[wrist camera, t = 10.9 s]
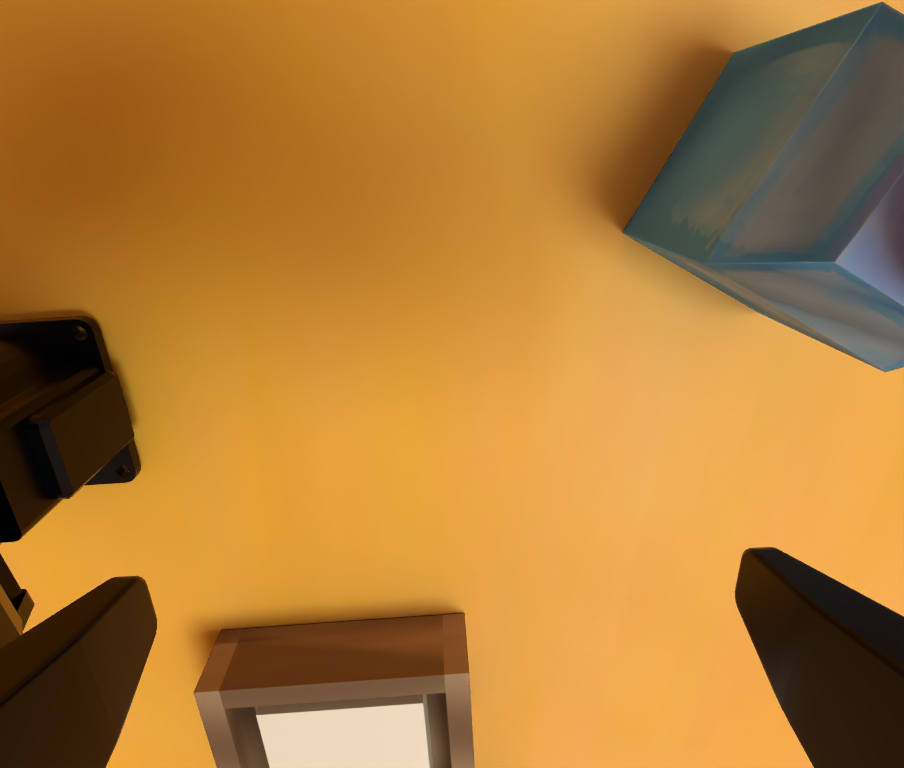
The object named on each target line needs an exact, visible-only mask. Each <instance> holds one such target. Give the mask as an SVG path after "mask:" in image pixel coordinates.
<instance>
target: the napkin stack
mask: <svg viewBox="0 0 904 768" xmlns="http://www.w3.org/2000/svg"><path fill="white" fill-rule="evenodd" d="M256 717H257V721H258V725H259V729H260V732H261V736H262V740H263V744H264V748H265V752H266V755H267V759H268V763H269V767H270V768H434V766H433V756H432V745H431V735H430V725H429V715H428V705H427V694H422V695H408V696H394V697H381V698H367V699H353V700H339V701H325V702H312V703H298V704H284V705H270V706H259V708H258V711H257V714H256Z"/></svg>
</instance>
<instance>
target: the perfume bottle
mask: <svg viewBox="0 0 904 768" xmlns="http://www.w3.org/2000/svg"><path fill="white" fill-rule="evenodd" d="M623 233H624V234H625V235H627V236H629V237H631V238H632V239H634V240H636V241H637V242H639V243H641V244H642V245H644V246H646V247H648V248H649V249H651V250H653V251H654V252H656V253H658V254H660V255H661V256H663V257H665V258H666V259H668V260H670V261H671V262H673V263H675V264H677V265H678V266H680V267H682V268H683V269H685V270H687V271H689V272H690V273H692V274H694V275H695V276H697V277H699V278H700V279H702V280H704V281H706V282H707V283H709V284H711V285H712V286H714V287H716V288H717V289H719V290H721V291H723V292H724V293H726V294H728V295H729V296H731V297H733V298H735V299H736V300H738V301H740V302H741V303H743V304H745V305H746V306H748V307H750V308H752V309H753V310H755V311H757V312H758V313H760V314H762V315H765V316H767V317H769V318H771V319H773V320H775V321H777V322H779V323H782V324H784V325H786V326H788V327H790V328H792V329H794V330H796V331H799V332H801V333H803V334H805V335H807V336H809V337H811V338H814V339H816V340H818V341H820V342H822V343H824V344H826V345H828V346H831V347H833V348H835V349H837V350H839V351H841V352H843V353H846V354H848V355H850V356H852V357H854V358H856V359H858V360H860V361H863V362H865V363H867V364H869V365H871V366H873V367H875V368H877V369H880V370H882V371H884V372H888V371H891V370H895V369H899V368H902V367H904V15H903V14H902V13H900V12H898V11H897V10H895V9H893V8H892V7H890V6H889V5H887V4H885V3H884V2H880V3H877V4H874V5H871V6H868V7H866V8H863V9H860V10H857V11H854V12H851V13H848V14H845V15H842V16H839V17H837V18H834V19H831V20H828V21H825V22H822V23H819V24H816V25H813V26H810V27H808V28H805V29H802V30H799V31H796V32H793V33H790V34H787V35H784V36H781V37H778V38H776V39H773V40H770V41H767V42H764V43H761V44H758V45H755V46H752V47H749V48H747V49H744V50H741V51H738V52H735V53H734V54H733V56H732V57H731V59H730V61H729V62H728V64H727V65H726V67H725V69H724V70H723V72H722V74H721V75H720V77H719V78H718V80H717V82H716V83H715V85H714V86H713V88H712V90H711V91H710V93H709V94H708V96H707V98H706V99H705V101H704V102H703V104H702V106H701V107H700V109H699V111H698V112H697V114H696V115H695V117H694V119H693V120H692V122H691V123H690V125H689V127H688V128H687V130H686V131H685V133H684V135H683V136H682V138H681V139H680V141H679V143H678V144H677V146H676V147H675V149H674V151H673V152H672V154H671V156H670V157H669V159H668V160H667V162H666V164H665V165H664V167H663V168H662V170H661V172H660V173H659V175H658V176H657V178H656V180H655V181H654V183H653V184H652V186H651V188H650V189H649V191H648V193H647V194H646V196H645V197H644V199H643V201H642V202H641V204H640V205H639V207H638V209H637V210H636V212H635V213H634V215H633V217H632V218H631V220H630V221H629V223H628V225H627V226H626V228H625V230H624V231H623Z"/></svg>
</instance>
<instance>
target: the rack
mask: <svg viewBox="0 0 904 768" xmlns="http://www.w3.org/2000/svg"><path fill="white" fill-rule="evenodd" d="M422 694H427V705H428V715H429V725H430V735H431V745H432V756H433V766H434V768H475V767H474V749H473V732H472V714H471V697H470V680H469V665H468V652H467V639H466V627H465V614H464V613H460V614H446V615H431V616H417V617H403V618H389V619H374V620H360V621H346V622H332V623H318V624H303V625H289V626H275V627H261V628H246V629H232V630H221V632H220V634H219V636H218V639H217V641H216V643H215V645H214V648H213V650H212V652H211V654H210V657H209V659H208V661H207V663H206V666H205V668H204V670H203V673H202V675H201V677H200V679H199V682H198V684H197V686H196V688H195V691H194V696H195V699H196V702H197V705H198V709H199V712H200V715H201V718H202V721H203V725H204V728H205V731H206V734H207V737H208V741H209V744H210V747H211V750H212V753H213V757H214V760H215V763H216V766H217V768H270V767H269V763H268V759H267V755H266V752H265V748H264V744H263V740H262V736H261V732H260V729H259V725H258V721H257V717H256V714H257V711H258V708H259V706H270V705H284V704H298V703H312V702H325V701H339V700H353V699H367V698H381V697H394V696H408V695H422Z"/></svg>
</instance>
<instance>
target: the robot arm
mask: <svg viewBox="0 0 904 768" xmlns="http://www.w3.org/2000/svg"><path fill="white" fill-rule="evenodd" d="M78 326H79V327H82V328H83V329H85V331H86V333H87V337H85V336H83V335H81V334H80V333H79V331H78ZM133 437H134V432H133V428H132V425H131V422H130V418H129V415H128V412H127V408H126V405H125V401H124V398H123V395H122V391H121V388H120V385H119V381H118V378H117V376H116V375H115V374H114V373H113V371H112V368H111V365H110V361H109V358H108V355H107V351H106V348H105V345H104V341H103V338H102V335H101V331H100V328H99V326H98V324H97V323H96V322H95V321H94V320H92V319H90V318H88V317H84V316H77V317H61V318H45V319H28V320H12V321H0V544H1V543H2V542H15V541H18V540H20V539H21V538H22V537H23V536H24V535H25V534H26V533H27V532H28V531H29V530H31V529H32V528H33V527H34V526H35V525H36V524H37V523H38V522H39V521H40V520H41V519H42V518H43V517H44V516H46V515H47V514H48V513H49V512H50V511H51V510H52V509H53V508H54V507H55V506H56V505H57V504H58V503H59V502H61V501H62V500H63V499H69V498H71V497H72V496H73V495H74V494H75V493H77V492H78V491H79V490H80V489H81V488H82V487H83V486H84V485H97V484H112V483H126V482H130V481H132V480H133V479H134V478H135V477H136V476H137V475H138V474H139V472H140V470H141V465H140V462H139V458H138V455H137V452H136V448H135V445H134V442H133ZM121 466H125V467H127V468H128V470H129V472H127V471H125V470H123V469H122V467H121ZM735 599H736V604H737V607H738V610H739V612H740V614H741V617H742V619H743V621H744V624H745V626H746V628H747V631H748V633H749V635H750V638H751V640H752V642H753V644H754V647H755V649H756V651H757V654H758V656H759V658H760V661H761V663H762V665H763V668H764V670H765V672H766V675H767V677H768V679H769V681H770V684H771V686H772V688H773V691H774V693H775V695H776V697H777V699H778V701H779V704H780V706H781V708H782V710H783V712H784V713H785V715H786V717H787V719H788V721H789V723H790V725H791V727H792V728H793V730H794V732H795V734H796V736H797V738H798V739H799V741H800V743H801V745H802V747H803V748H804V750H805V752H806V754H807V756H808V757H809V759H810V761H811V763H812V765H813V766H814V768H904V617H903V616H902V615H900V614H898V613H896V612H894V611H892V610H890V609H889V608H887V607H885V606H883V605H881V604H879V603H877V602H876V601H874V600H872V599H870V598H868V597H866V596H864V595H862V594H861V593H859V592H857V591H855V590H853V589H851V588H849V587H848V586H846V585H844V584H842V583H840V582H838V581H836V580H835V579H833V578H831V577H829V576H827V575H825V574H823V573H821V572H820V571H818V570H816V569H814V568H812V567H810V566H808V565H807V564H805V563H803V562H801V561H799V560H797V559H795V558H794V557H792V556H790V555H788V554H786V553H784V552H782V551H780V550H779V549H776V548H773V547H760V548H749V549H746V550H745V551H744V553H743V555H742V558H741V563H740V568H739V573H738V578H737V583H736V588H735ZM33 607H34V602H33V600H32V598H31V597H30V595H29V593H28V592H27V590H26V589H21V588H20V586H19V585H18V583H17V581H16V580H15V578H14V576H13V575H12V573H11V571H10V569H9V568H8V566H7V564H6V563H5V561H4V559H3V557H2V556H1V554H0V768H106V765H107V763H108V761H109V759H110V757H111V754H112V752H113V750H114V748H115V745H116V743H117V741H118V738H119V736H120V733H121V731H122V728H123V725H124V723H125V720H126V717H127V714H128V711H129V709H130V706H131V703H132V700H133V697H134V695H135V692H136V689H137V686H138V683H139V680H140V678H141V675H142V672H143V669H144V666H145V663H146V661H147V658H148V655H149V652H150V649H151V646H152V644H153V641H154V638H155V635H156V630H157V618H156V614H155V610H154V607H153V603H152V600H151V597H150V593H149V590H148V587H147V584H146V581H145V580H144V579H143V578H142V577H139V576H125V577H114V578H111V579H109V580H107V581H106V582H104V583H103V584H101V585H99V586H98V587H96V588H95V589H93V590H92V591H90V592H88V593H87V594H85V595H84V596H82V597H81V598H79V599H77V600H76V601H74V602H73V603H71V604H70V605H68V606H66V607H65V608H63V609H62V610H60V611H59V612H57V613H55V614H54V615H52V616H51V617H49V618H48V619H46V620H44V621H43V622H41V623H40V624H38V625H37V626H35V627H33V628H32V629H30V630H29V631H27V632H25V633H24V634H23V630H24V627H25V625H26V623H27V621H28V618H29V616H30V614H31V611H32V609H33Z"/></svg>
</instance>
